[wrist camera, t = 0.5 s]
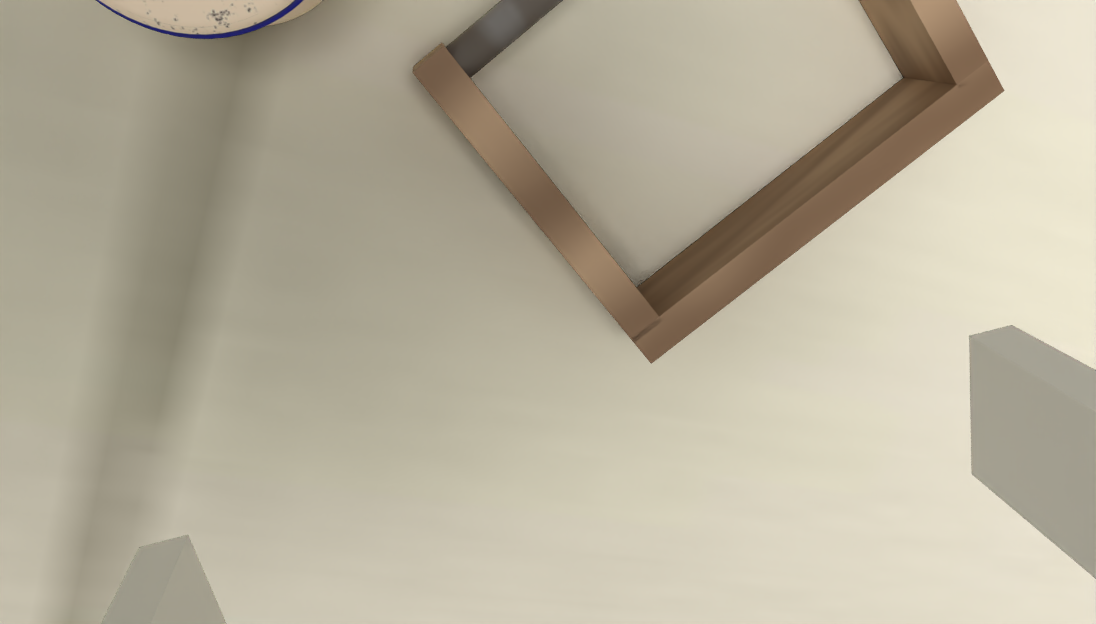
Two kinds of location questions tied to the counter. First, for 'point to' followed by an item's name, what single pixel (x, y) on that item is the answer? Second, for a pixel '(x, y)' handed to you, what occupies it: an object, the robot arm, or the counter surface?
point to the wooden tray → (771, 214)
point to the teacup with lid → (208, 15)
